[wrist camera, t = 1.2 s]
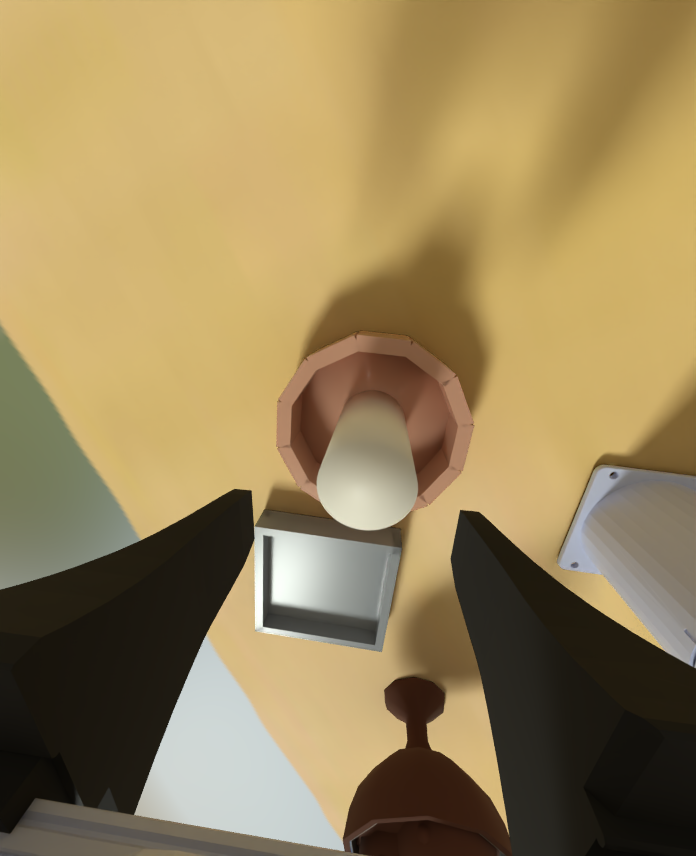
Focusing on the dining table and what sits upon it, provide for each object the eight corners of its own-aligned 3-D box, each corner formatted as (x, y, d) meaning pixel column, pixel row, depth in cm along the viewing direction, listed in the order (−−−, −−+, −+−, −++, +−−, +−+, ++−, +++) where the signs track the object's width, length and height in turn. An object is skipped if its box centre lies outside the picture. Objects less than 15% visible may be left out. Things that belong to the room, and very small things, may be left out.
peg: (409, 394, 20) (426, 448, 12) (399, 454, 21) (409, 536, 14) (343, 386, 20) (319, 435, 12) (337, 446, 21) (313, 523, 14)
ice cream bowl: (425, 637, 27) (471, 993, 13) (500, 713, 29) (608, 1085, 15) (330, 683, 30) (285, 1009, 16) (404, 748, 32) (421, 1083, 18)
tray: (400, 528, 24) (402, 548, 22) (381, 628, 27) (381, 651, 25) (264, 509, 24) (254, 526, 22) (263, 609, 28) (255, 631, 26)
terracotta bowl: (476, 343, 19) (493, 349, 16) (440, 501, 22) (448, 528, 20) (293, 323, 19) (278, 326, 16) (288, 480, 23) (275, 504, 20)
